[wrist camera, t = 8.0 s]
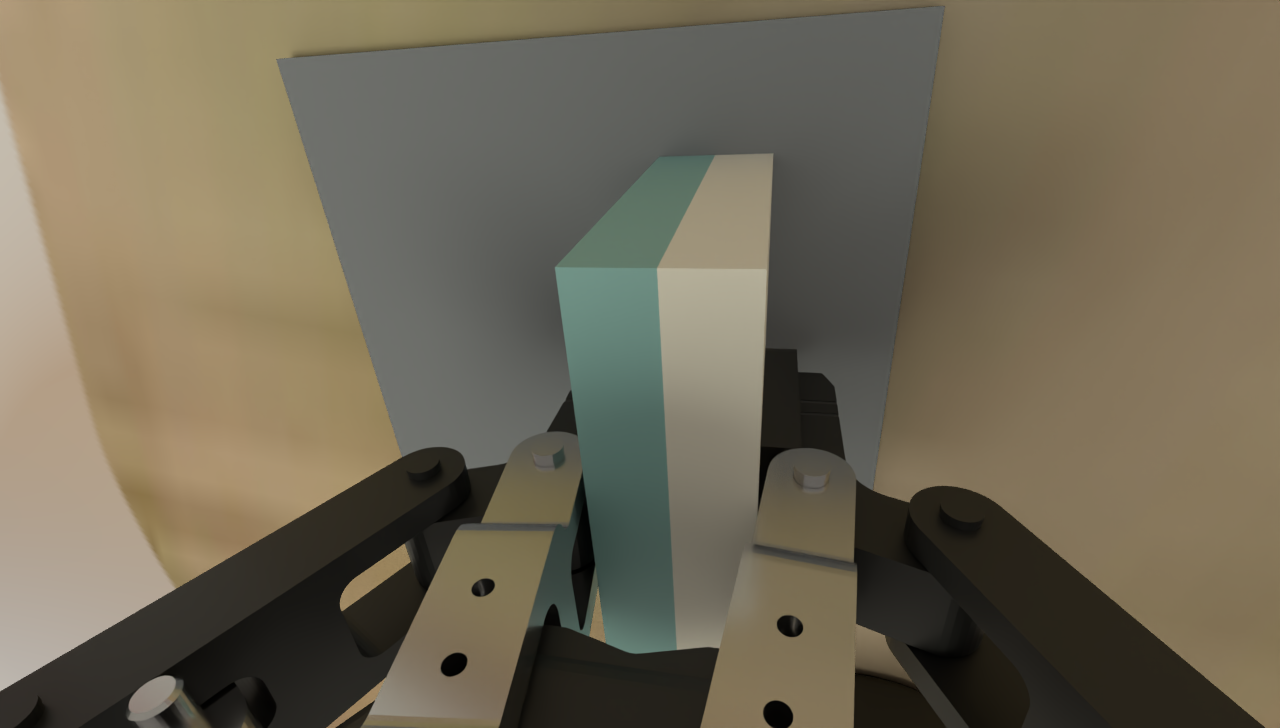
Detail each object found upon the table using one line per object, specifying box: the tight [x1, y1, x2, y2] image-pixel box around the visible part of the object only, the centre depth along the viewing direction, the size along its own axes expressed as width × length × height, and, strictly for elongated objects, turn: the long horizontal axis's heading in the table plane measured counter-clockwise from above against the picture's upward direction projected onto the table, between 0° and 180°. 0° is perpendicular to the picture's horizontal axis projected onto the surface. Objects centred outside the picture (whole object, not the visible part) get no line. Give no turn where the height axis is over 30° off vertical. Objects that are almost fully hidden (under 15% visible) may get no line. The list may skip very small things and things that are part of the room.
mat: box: [276, 6, 945, 490], centre depth 16 cm, size 14×14×1 cm
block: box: [555, 153, 773, 654], centre depth 12 cm, size 2×9×7 cm, turn 4°
